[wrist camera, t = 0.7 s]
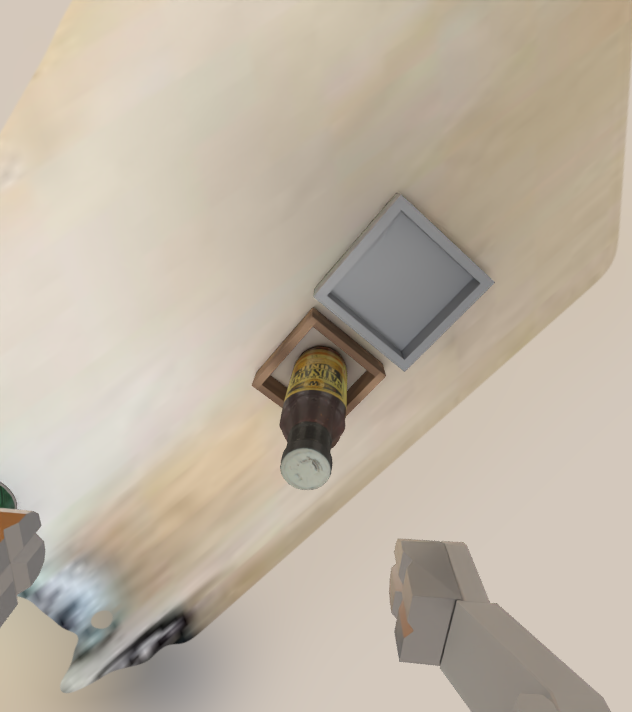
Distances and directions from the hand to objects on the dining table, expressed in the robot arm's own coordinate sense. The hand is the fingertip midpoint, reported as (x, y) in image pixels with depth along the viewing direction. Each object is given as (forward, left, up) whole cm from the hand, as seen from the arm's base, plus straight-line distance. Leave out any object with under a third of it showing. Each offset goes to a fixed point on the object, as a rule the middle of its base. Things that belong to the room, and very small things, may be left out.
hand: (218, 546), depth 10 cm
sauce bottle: (+10, +10, -41) cm, 44 cm away
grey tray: (-4, +10, -41) cm, 43 cm away
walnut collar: (+10, +10, -41) cm, 43 cm away
